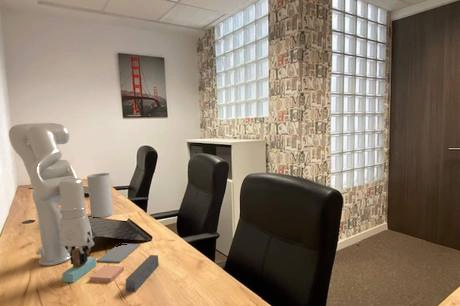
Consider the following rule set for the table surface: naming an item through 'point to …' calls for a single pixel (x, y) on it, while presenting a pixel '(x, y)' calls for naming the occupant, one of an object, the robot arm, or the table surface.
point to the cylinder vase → (100, 195)
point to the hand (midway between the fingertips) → (79, 262)
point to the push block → (78, 267)
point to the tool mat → (118, 253)
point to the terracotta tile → (107, 273)
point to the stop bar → (141, 273)
